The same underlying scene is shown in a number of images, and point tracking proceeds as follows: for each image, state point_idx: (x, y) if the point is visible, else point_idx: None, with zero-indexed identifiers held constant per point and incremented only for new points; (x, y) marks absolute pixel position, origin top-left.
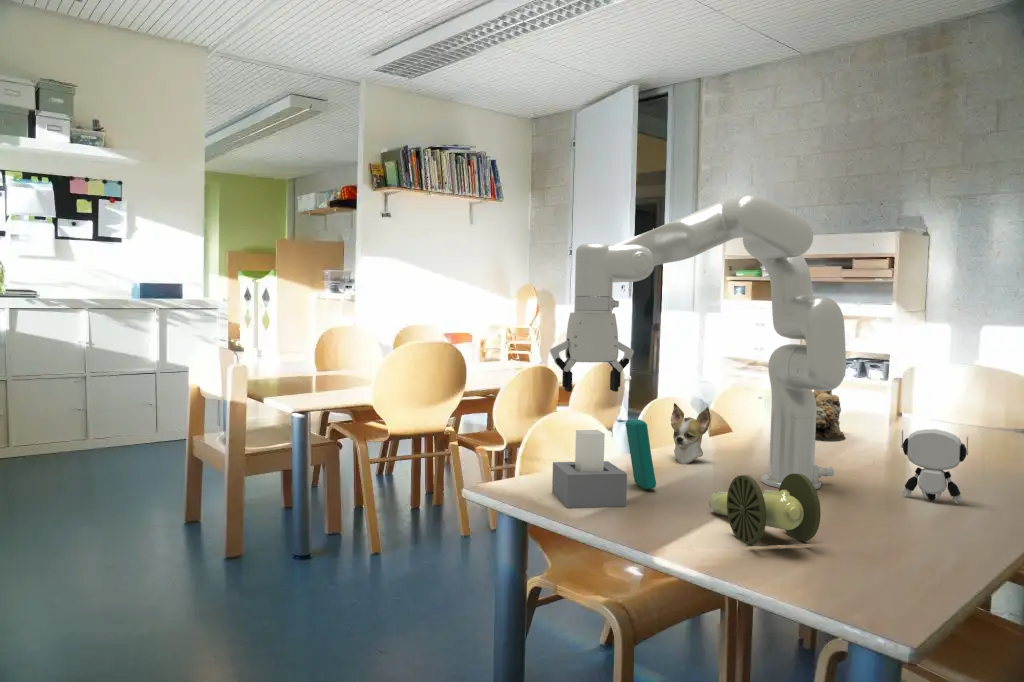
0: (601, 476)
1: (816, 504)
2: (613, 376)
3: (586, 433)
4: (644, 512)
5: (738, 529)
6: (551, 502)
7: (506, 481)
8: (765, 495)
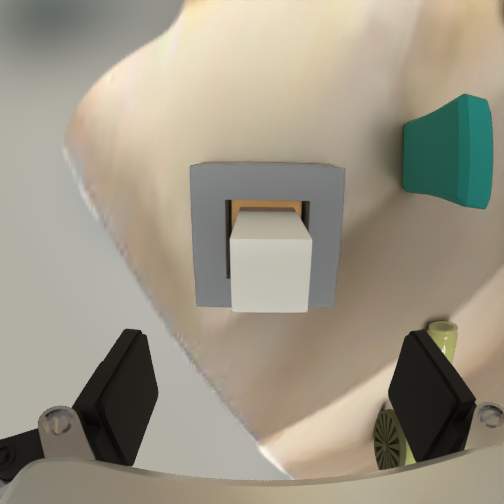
0: None
1: None
2: (419, 430)
3: (247, 306)
4: (334, 314)
5: (381, 422)
6: (187, 235)
7: (133, 61)
8: None
